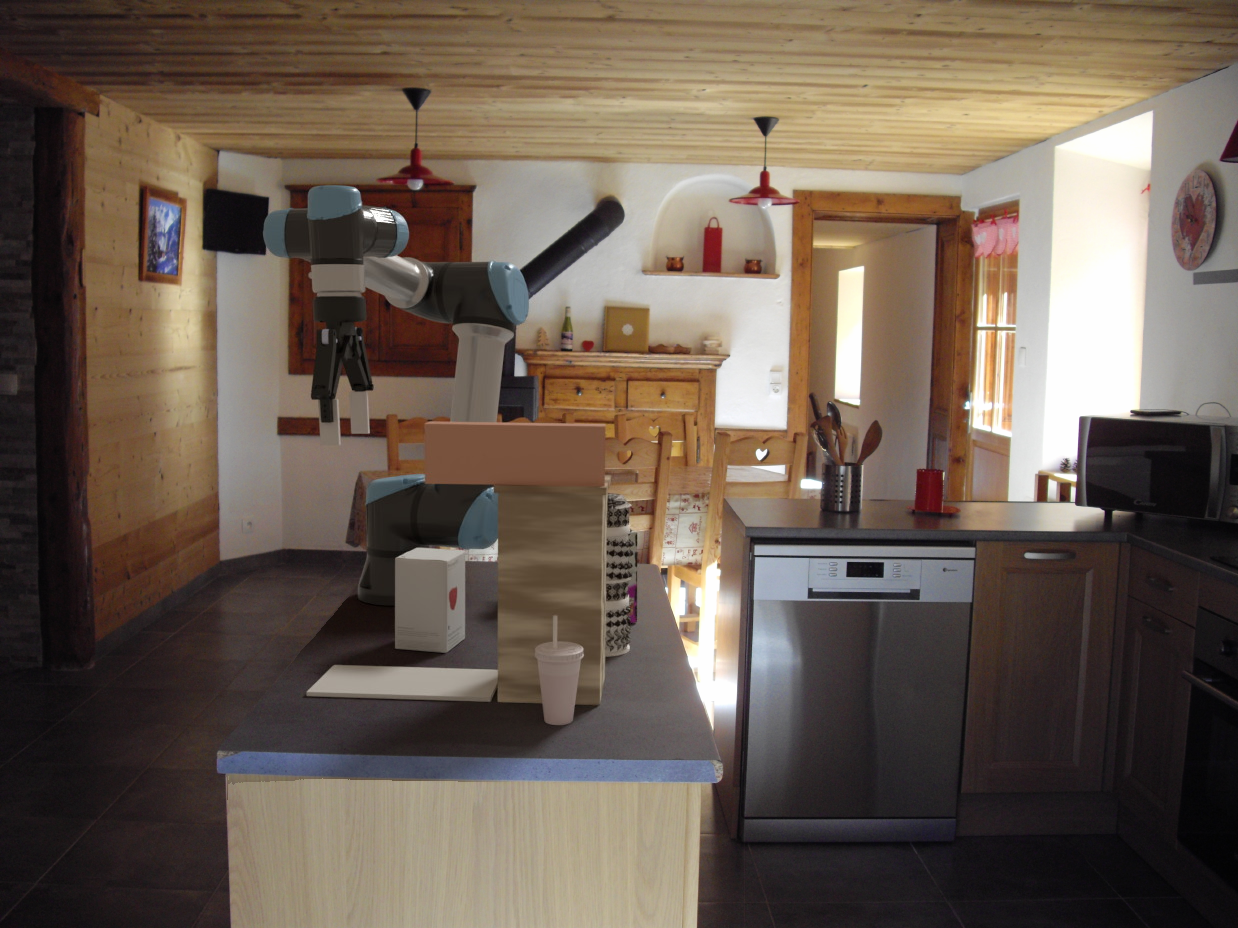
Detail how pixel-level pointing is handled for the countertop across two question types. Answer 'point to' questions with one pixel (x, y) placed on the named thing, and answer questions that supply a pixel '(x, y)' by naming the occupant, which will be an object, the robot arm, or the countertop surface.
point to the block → (514, 453)
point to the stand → (551, 583)
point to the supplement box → (429, 599)
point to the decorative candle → (617, 576)
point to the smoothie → (558, 677)
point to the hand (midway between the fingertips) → (346, 439)
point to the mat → (407, 683)
